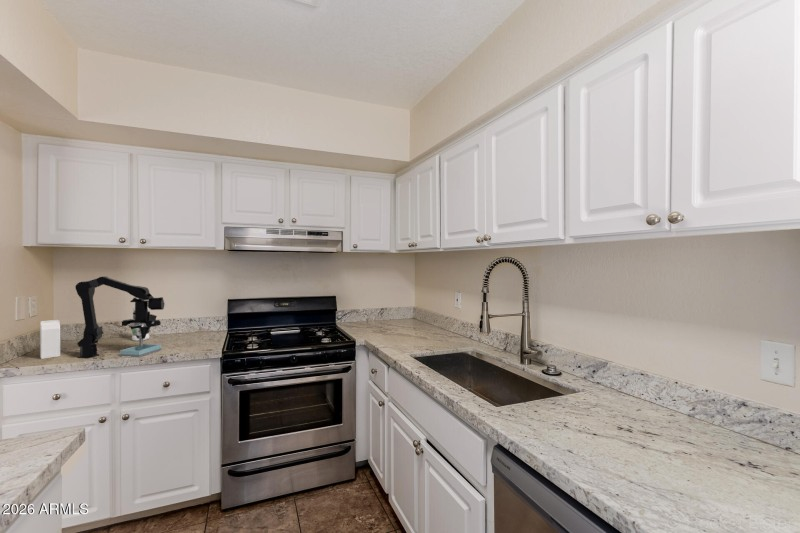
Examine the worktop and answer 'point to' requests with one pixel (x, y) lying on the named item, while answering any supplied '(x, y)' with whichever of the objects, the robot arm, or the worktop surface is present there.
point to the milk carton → (50, 339)
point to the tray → (140, 350)
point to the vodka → (141, 326)
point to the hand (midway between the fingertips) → (141, 338)
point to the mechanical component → (138, 333)
